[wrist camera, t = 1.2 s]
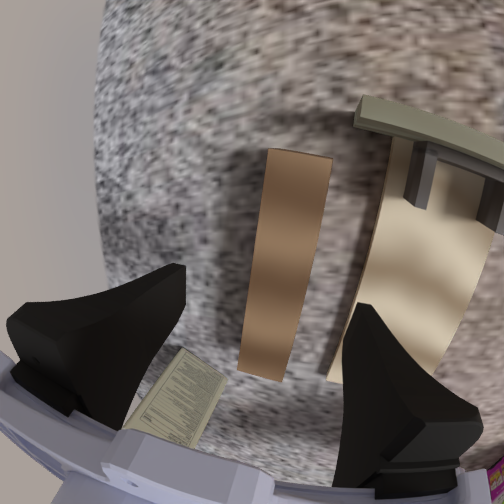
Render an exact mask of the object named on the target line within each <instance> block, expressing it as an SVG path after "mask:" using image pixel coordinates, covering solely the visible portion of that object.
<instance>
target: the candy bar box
mask: <svg viewBox="0 0 504 504" xmlns="http://www.w3.org/2000/svg"><path fill="white" fill-rule="evenodd" d="M487 478H488V483H489V489H490V496H491V503H492V504H504V456H503V457H502V458H501V459H500V460H499V461H498V462H497V463H496V464H495V465H493V466H492V467H491V468H490V469H489V470H488V471H487Z"/></svg>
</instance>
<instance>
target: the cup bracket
mask: <svg viewBox="0 0 504 504" xmlns="http://www.w3.org/2000/svg"><path fill="white" fill-rule="evenodd" d="M353 127H354V128H359V129H363V130H367V131H371V132H376V133H380V134H383V135H387V136H391V137H393V138H392V144H391V150H390V156H389V161H388V167H387V172H386V177H385V182H384V187H383V191H382V196H381V201H380V205H379V209H378V214H377V218H376V222H375V226H374V230H373V234H372V238H371V242H370V245H369V249H368V253H367V256H366V260H365V263H364V267H363V270H362V274H361V277H360V280H359V284H358V287H357V290H356V293H355V297H354V300H353V303H352V306H351V309H350V312H349V315H348V318H347V321H346V324H345V326H344V329H343V332H342V335H341V338H340V340H339V343H338V346H337V349H336V351H335V354H334V356H333V359H332V362H331V364H330V367H329V369H328V372H327V376H326V381H331V382H336V383H341V384H343V378H342V345H343V338H344V335H345V333H346V330H347V328H348V325H349V323H350V320H351V317H352V315H353V312H354V310H355V307H356V304H357V302H361V303H366V304H371V305H372V306H373V307H374V309H375V310H376V311H377V313H378V314H379V316H380V317H381V318H382V320H383V321H384V323H385V324H386V325H387V327H388V328H389V330H390V331H391V332H392V334H393V335H394V336H395V338H396V339H397V340H398V341H399V343H400V344H401V345H402V346H403V348H404V349H405V350H406V351H407V352H408V353H409V355H410V356H411V357H412V358H413V359H414V360H415V361H416V362H417V363H418V364H419V365H420V366H421V367H422V368H423V369H424V370H425V371H426V372H427V373H428V374H429V375H431V376H432V374H433V372H434V371H435V369H436V367H437V366H438V364H439V362H440V360H441V359H442V357H443V355H444V353H445V351H446V349H447V348H448V346H449V344H450V342H451V340H452V338H453V336H454V334H455V332H456V330H457V328H458V326H459V324H460V322H461V320H462V318H463V315H464V313H465V311H466V309H467V307H468V304H469V302H470V300H471V297H472V295H473V292H474V290H475V288H476V285H477V283H478V280H479V277H480V275H481V272H482V269H483V267H484V264H485V261H486V258H487V255H488V252H489V249H490V246H491V243H492V239H493V236H494V233H498V234H501V235H503V236H504V142H502V141H500V140H497V139H495V138H493V137H491V136H489V135H486V134H484V133H482V132H479V131H477V130H475V129H472V128H470V127H467V126H465V125H462V124H460V123H457V122H455V121H452V120H449V119H446V118H444V117H441V116H438V115H435V114H432V113H429V112H426V111H423V110H420V109H417V108H413V107H410V106H407V105H403V104H400V103H396V102H392V101H388V100H385V99H381V98H377V97H373V96H368V95H364V94H363V96H362V98H361V100H360V103H359V105H358V107H357V109H356V111H355V117H354V123H353Z"/></svg>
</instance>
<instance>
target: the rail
mask: <svg viewBox="0 0 504 504" xmlns="http://www.w3.org/2000/svg"><path fill="white" fill-rule="evenodd" d="M332 163H333V158H330V157H325V156H320V155H314V154H309V153H303V152H298V151H292V150H286V149H279V148H268V156H267V163H266V170H265V177H264V184H263V191H262V198H261V205H260V212H259V219H258V226H257V233H256V240H255V247H254V254H253V262H252V269H251V276H250V283H249V290H248V297H247V304H246V311H245V318H244V324H243V331H242V338H241V345H240V352H239V359H238V366H237V370H239V371H242V372H245V373H249V374H252V375H256V376H260V377H263V378H267V379H271V380H274V381H278V382H282V380H283V377H284V374H285V370H286V367H287V363H288V360H289V357H290V353H291V349H292V346H293V342H294V338H295V334H296V330H297V327H298V323H299V319H300V315H301V311H302V307H303V303H304V299H305V294H306V290H307V286H308V282H309V278H310V273H311V269H312V264H313V260H314V255H315V251H316V246H317V241H318V237H319V232H320V227H321V222H322V217H323V212H324V207H325V202H326V196H327V191H328V185H329V180H330V174H331V169H332Z"/></svg>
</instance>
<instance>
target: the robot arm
mask: <svg viewBox="0 0 504 504" xmlns="http://www.w3.org/2000/svg"><path fill="white" fill-rule="evenodd" d="M185 306H186V266H185V265H180V264H176V263H171V264H169V265H166V266H164V267H162V268H159V269H157V270H155V271H153V272H151V273H149V274H146V275H144V276H142V277H140V278H138V279H135V280H133V281H130V282H128V283H126V284H123V285H121V286H118V287H115V288H113V289H110V290H107V291H104V292H100V293H97V294H93V295H89V296H84V297H79V298H75V299H68V300H61V301H51V302H26V303H25V304H24V305H23V306H21V307H20V308H19V309H18V310H17V311H16V312H14V313H13V314H12V315H11V316H10V317H9V318H8V319H7V323H6V327H7V332H8V334H9V337H10V339H11V341H12V344H13V346H14V348H15V350H16V352H17V354H18V356H19V358H20V361H19V362H18V363H17V364H15V363H14V362H13V360H12V359H11V358H9V357H8V356H7V355H6V354H4V353H3V352H2V351H0V431H1V432H2V433H4V434H5V435H6V436H7V437H8V438H9V439H10V440H11V441H12V442H13V443H15V444H16V445H17V446H18V447H19V448H21V449H22V450H23V451H24V452H25V453H26V454H28V455H29V456H30V457H31V458H33V459H34V460H35V461H36V462H38V463H39V464H40V465H42V466H43V467H44V468H46V469H47V470H49V471H50V472H51V473H52V474H54V475H55V476H56V477H58V478H59V479H61V480H62V481H64V482H63V484H62V486H61V487H60V489H59V491H58V492H57V494H56V496H55V497H54V499H53V501H52V502H51V504H492V503H491V496H490V489H489V483H488V478H487V472H486V469H479V470H474V471H468V472H465V469H464V468H462V467H459V465H460V463H459V457H460V456H461V455H462V454H463V453H464V452H466V451H467V450H468V449H469V448H470V447H471V446H472V445H473V444H474V443H475V442H476V441H477V440H478V439H479V438H480V436H481V434H482V432H483V428H484V427H483V423H482V420H481V416H480V413H479V410H478V408H477V407H476V406H474V405H472V404H470V403H469V402H467V401H465V400H463V399H462V398H460V397H458V396H457V395H455V394H454V393H452V392H451V391H450V390H448V389H447V388H445V387H444V386H443V385H441V384H440V383H439V382H438V381H437V380H435V379H434V378H433V377H432V376H431V375H429V374H428V373H427V372H426V371H425V370H424V369H423V368H422V367H421V366H420V365H419V364H418V363H417V362H416V361H415V360H414V359H413V358H412V357H411V356H410V355H409V353H408V352H407V351H406V350H405V349H404V348H403V346H402V345H401V344H400V343H399V341H398V340H397V339H396V338H395V336H394V335H393V334H392V332H391V331H390V330H389V328H388V327H387V325H386V324H385V323H384V321H383V320H382V318H381V317H380V316H379V314H378V313H377V311H376V310H375V309H374V307H373V306H372V305H371V304H366V303H361V302H357V304H356V307H355V310H354V312H353V315H352V317H351V320H350V323H349V325H348V328H347V330H346V333H345V335H344V338H343V345H342V378H343V397H344V414H343V424H342V434H341V441H340V448H339V454H338V460H337V465H336V471H335V475H334V479H333V484H332V487H323V486H313V485H304V484H296V483H289V482H282V481H276V480H274V479H273V477H272V476H271V475H270V474H268V473H267V472H265V471H263V470H262V469H260V468H258V467H255V466H252V465H249V464H246V463H243V462H240V461H236V460H232V459H228V458H224V457H220V456H216V455H213V454H209V453H206V452H202V451H199V450H196V449H192V448H189V447H186V446H183V445H180V444H177V443H174V442H171V441H169V440H166V439H163V438H160V437H158V436H155V435H153V434H150V433H147V432H143V431H140V430H137V429H133V428H132V429H123V430H121V428H122V426H123V422H124V420H125V417H126V415H127V412H128V410H129V407H130V405H131V402H132V400H133V398H134V396H135V393H136V391H137V389H138V387H139V385H140V382H141V380H142V378H143V376H144V374H145V372H146V370H147V368H148V366H149V365H150V363H151V361H152V360H153V358H154V357H155V355H156V354H157V352H158V351H159V349H160V348H161V346H162V345H163V343H164V342H165V340H166V339H167V337H168V336H169V334H170V333H171V331H172V330H173V328H174V327H175V325H176V324H177V322H178V320H179V318H180V316H181V314H182V312H183V310H184V308H185Z"/></svg>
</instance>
